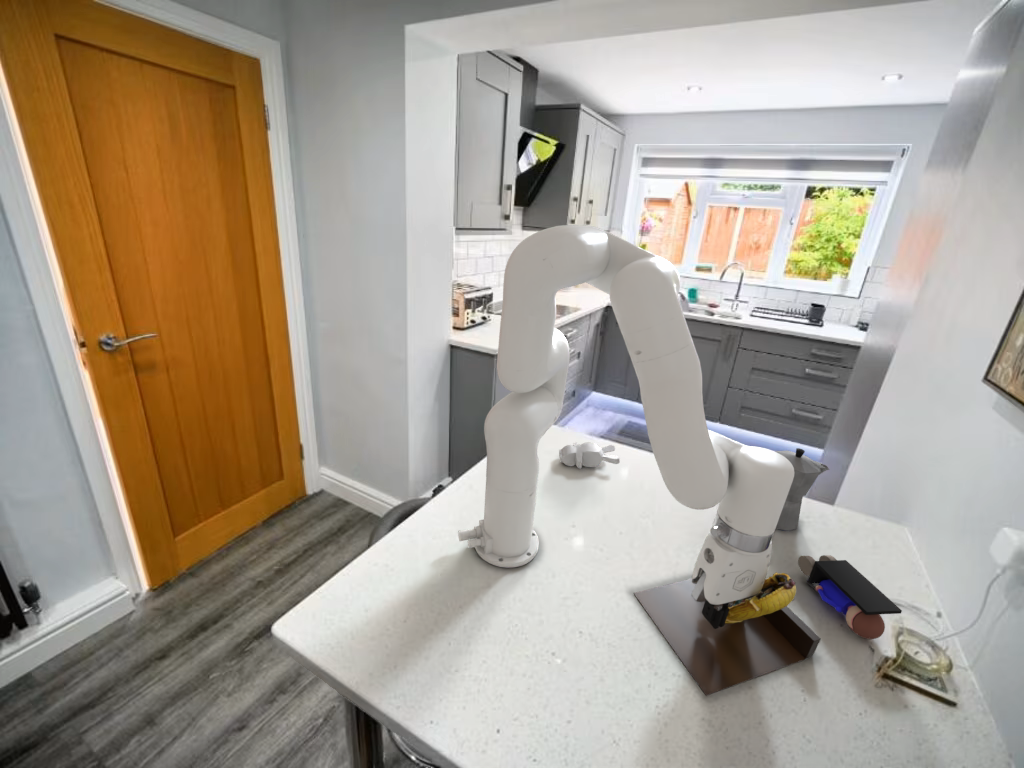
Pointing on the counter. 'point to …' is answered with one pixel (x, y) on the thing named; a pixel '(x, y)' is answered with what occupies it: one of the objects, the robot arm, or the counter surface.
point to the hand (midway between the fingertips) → (712, 620)
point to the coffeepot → (798, 486)
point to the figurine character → (849, 594)
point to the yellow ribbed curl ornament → (764, 599)
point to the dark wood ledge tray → (726, 638)
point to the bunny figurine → (586, 455)
